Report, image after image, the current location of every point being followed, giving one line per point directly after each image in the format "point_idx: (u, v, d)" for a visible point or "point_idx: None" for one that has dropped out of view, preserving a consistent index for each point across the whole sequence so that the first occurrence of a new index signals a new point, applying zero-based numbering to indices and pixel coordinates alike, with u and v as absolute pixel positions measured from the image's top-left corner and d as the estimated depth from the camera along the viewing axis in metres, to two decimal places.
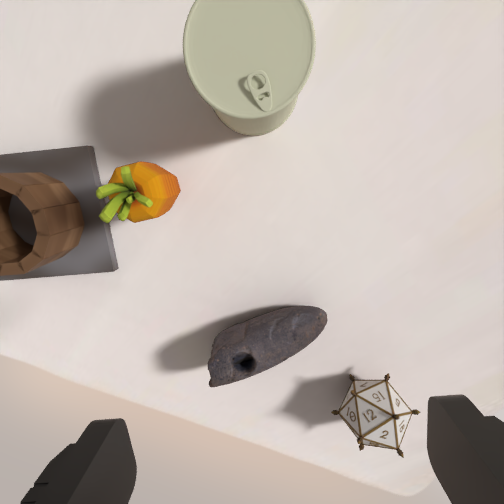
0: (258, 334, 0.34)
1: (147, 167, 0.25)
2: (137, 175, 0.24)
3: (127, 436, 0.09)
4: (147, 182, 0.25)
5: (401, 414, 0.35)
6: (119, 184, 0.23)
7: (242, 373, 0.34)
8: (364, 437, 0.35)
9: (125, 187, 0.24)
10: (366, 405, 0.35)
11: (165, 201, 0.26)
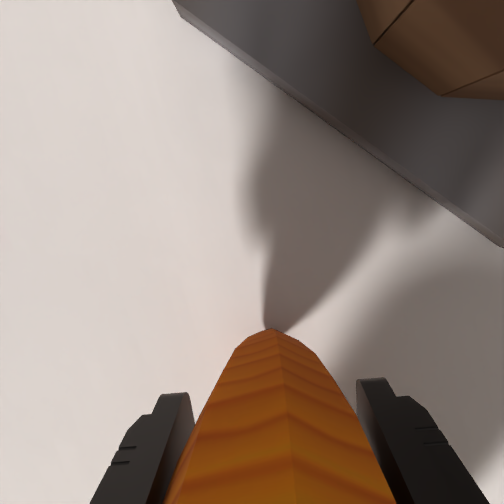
0: None
1: None
2: None
3: (191, 409, 0.09)
4: None
5: None
6: None
7: None
8: None
9: None
10: None
11: None
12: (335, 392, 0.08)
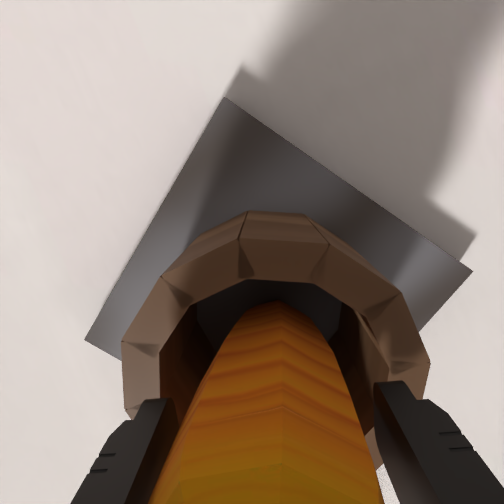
0: None
1: None
2: None
3: (175, 414, 0.09)
4: None
5: None
6: None
7: None
8: None
9: None
10: None
11: None
12: (320, 339, 0.10)
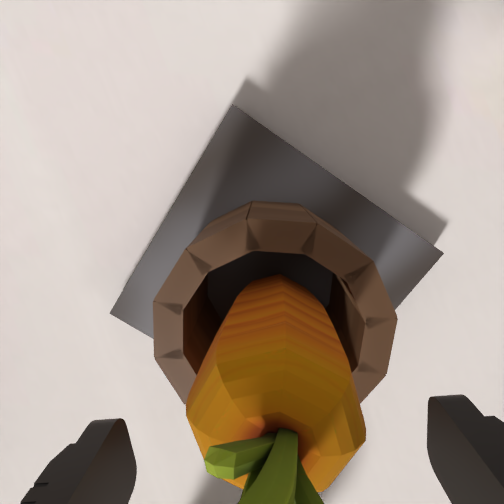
0: None
1: None
2: None
3: (127, 436, 0.09)
4: None
5: None
6: None
7: None
8: None
9: None
10: None
11: None
12: (313, 297, 0.13)
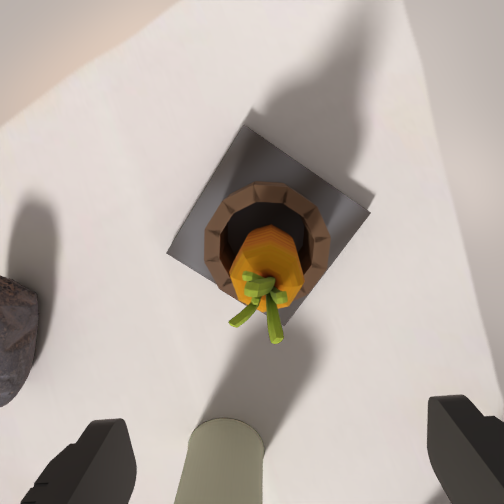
0: (4, 365, 0.30)
1: None
2: (276, 303, 0.20)
3: (127, 436, 0.09)
4: (262, 306, 0.20)
5: None
6: None
7: None
8: None
9: (272, 298, 0.19)
10: None
11: None
12: (287, 234, 0.25)
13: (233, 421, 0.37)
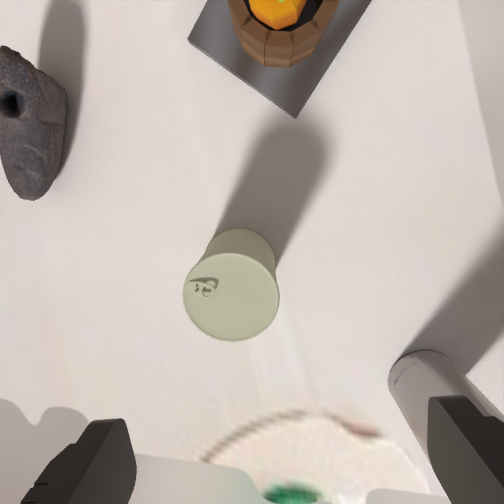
0: (37, 136, 0.32)
1: (286, 15, 0.24)
2: None
3: (127, 436, 0.09)
4: (272, 3, 0.23)
5: None
6: None
7: (0, 93, 0.31)
8: None
9: None
10: None
11: None
12: None
13: (247, 229, 0.39)
